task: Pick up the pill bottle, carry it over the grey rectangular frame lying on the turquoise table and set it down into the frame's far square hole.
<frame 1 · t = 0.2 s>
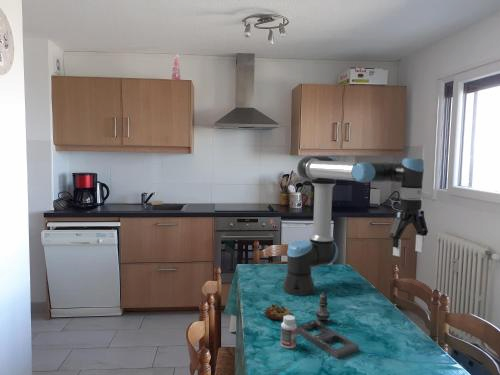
hand: (407, 253, 145), 28 cm above the table, fingers open, 13 cm apart
bread roll: (278, 316, 153), on the table
grey chess piece: (322, 322, 148), on the table
grey rectangular frame: (324, 340, 132), on the table
pill bottle: (288, 345, 129), on the table
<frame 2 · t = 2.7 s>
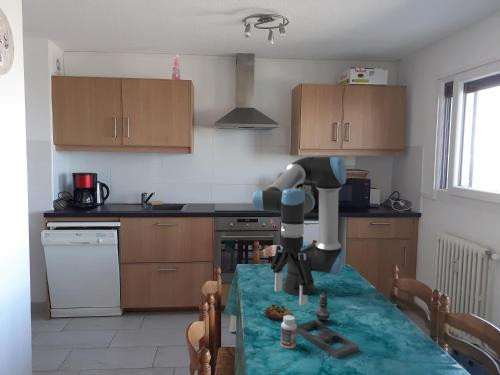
hand: (290, 297, 127), 17 cm above the table, fingers open, 13 cm apart
nothing on the table moved.
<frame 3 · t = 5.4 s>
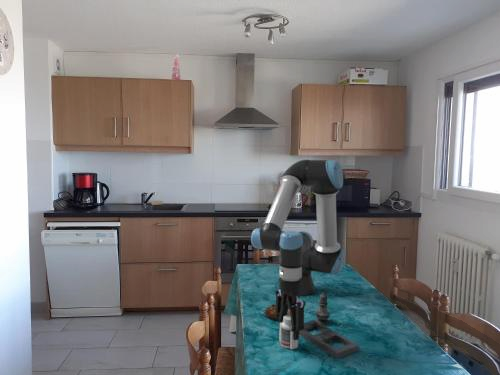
hand: (288, 343, 129), 0 cm above the table, fingers closed on pill bottle, 5 cm apart
pill bottle: (288, 345, 129), on the table, touching gripper
everything else where it was.
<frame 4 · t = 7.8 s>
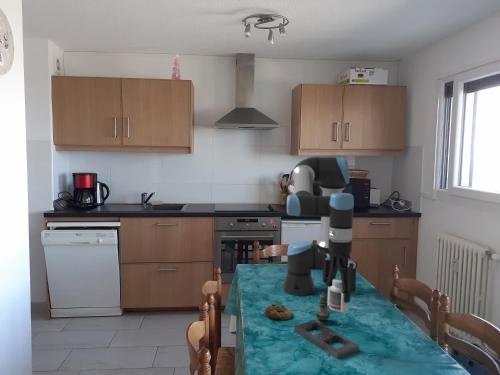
hand: (337, 307, 127), 14 cm above the table, fingers closed on pill bottle, 5 cm apart
pill bottle: (337, 309, 127), point 13 cm above the table, touching gripper
everything else where it was.
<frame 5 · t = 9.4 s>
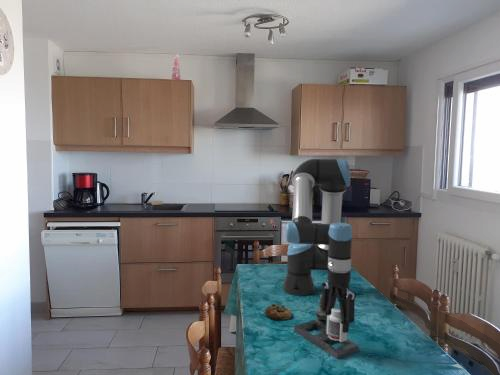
hand: (336, 336, 127), 4 cm above the table, fingers closed on pill bottle, 5 cm apart
pill bottle: (336, 338, 127), point 3 cm above the table, touching gripper
everything else where it was.
when the fingers open (3 cm above the table, at t = 10.4 s): pill bottle drops 2 cm, resting in grey rectangular frame.
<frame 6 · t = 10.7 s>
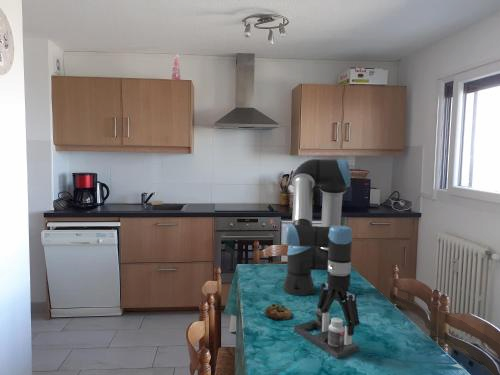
hand: (336, 337, 127), 4 cm above the table, fingers open, 10 cm apart
pill bottle: (335, 348, 128), resting in grey rectangular frame
everything else where it was.
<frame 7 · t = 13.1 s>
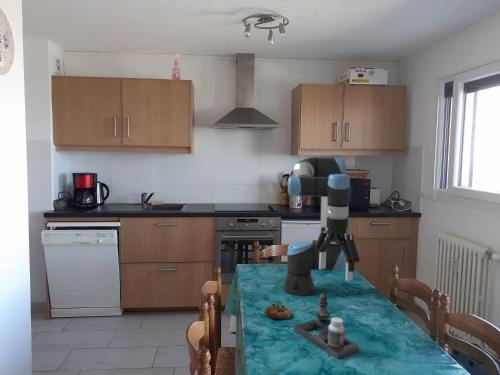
hand: (335, 274, 138), 22 cm above the table, fingers open, 13 cm apart
nothing on the table moved.
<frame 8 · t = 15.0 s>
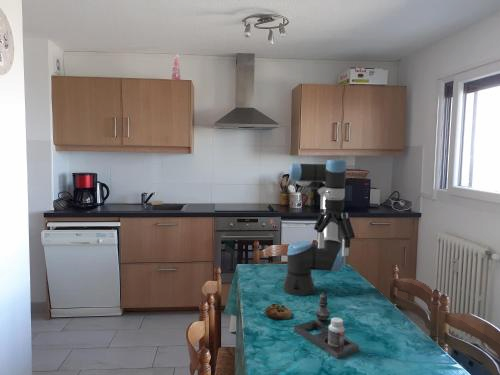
hand: (332, 251, 150), 27 cm above the table, fingers open, 13 cm apart
at the end: pill bottle 0.1 cm from the target spot on the grey rectangular frame, point 0.0 cm above the grey rectangular frame's base; pill bottle tilted 0° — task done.
